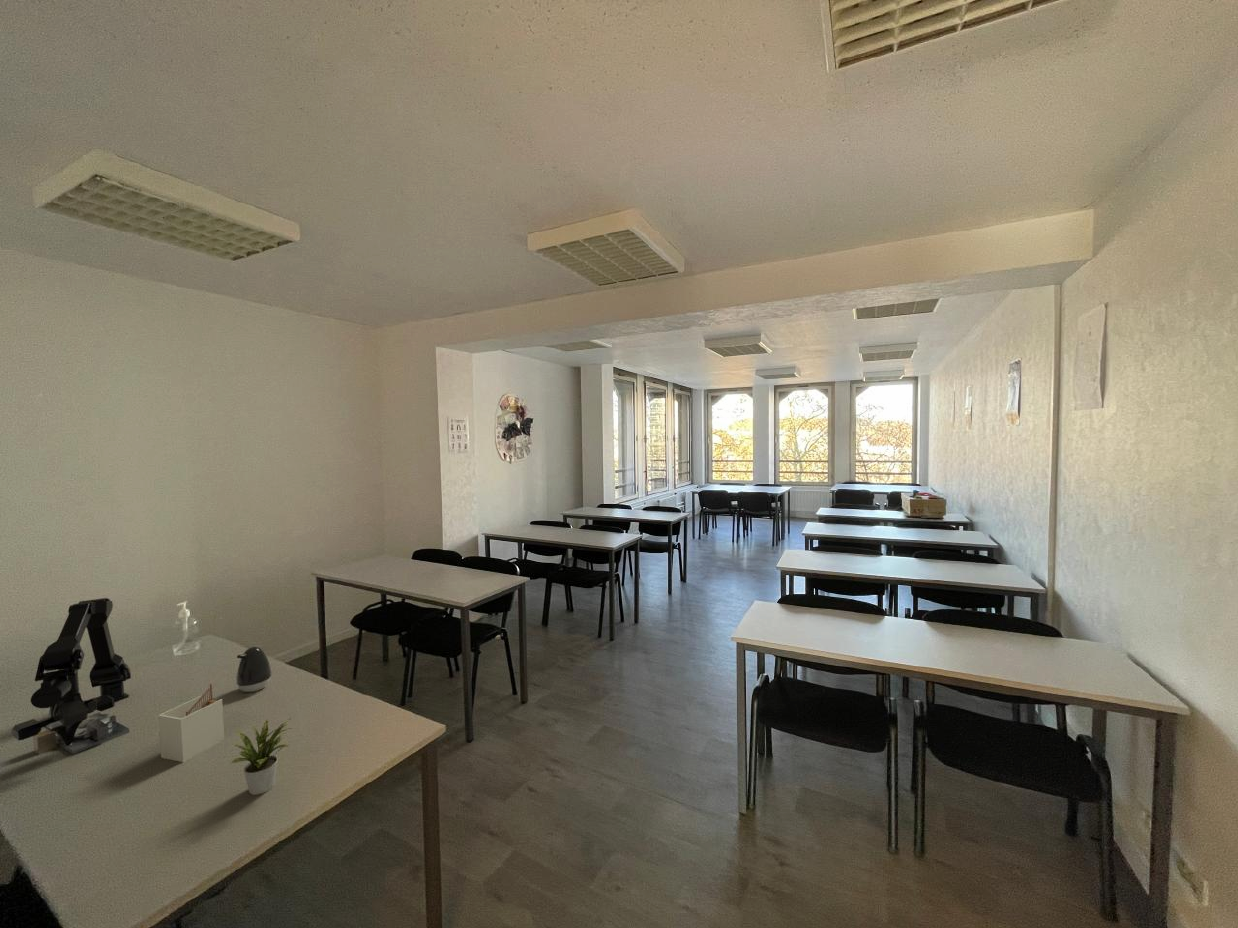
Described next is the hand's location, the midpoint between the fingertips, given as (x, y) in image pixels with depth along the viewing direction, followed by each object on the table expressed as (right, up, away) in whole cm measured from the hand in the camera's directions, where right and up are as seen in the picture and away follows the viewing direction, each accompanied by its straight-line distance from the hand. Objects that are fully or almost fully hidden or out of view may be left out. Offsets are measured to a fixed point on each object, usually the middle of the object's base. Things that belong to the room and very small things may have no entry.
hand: (67, 744), depth 140 cm
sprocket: (-3, -1, +8) cm, 9 cm away
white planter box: (+34, -3, +2) cm, 35 cm away
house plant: (+68, -2, -16) cm, 70 cm away
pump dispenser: (+27, -1, +36) cm, 45 cm away
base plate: (-5, -2, +10) cm, 11 cm away
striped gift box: (-9, -3, +2) cm, 10 cm away
